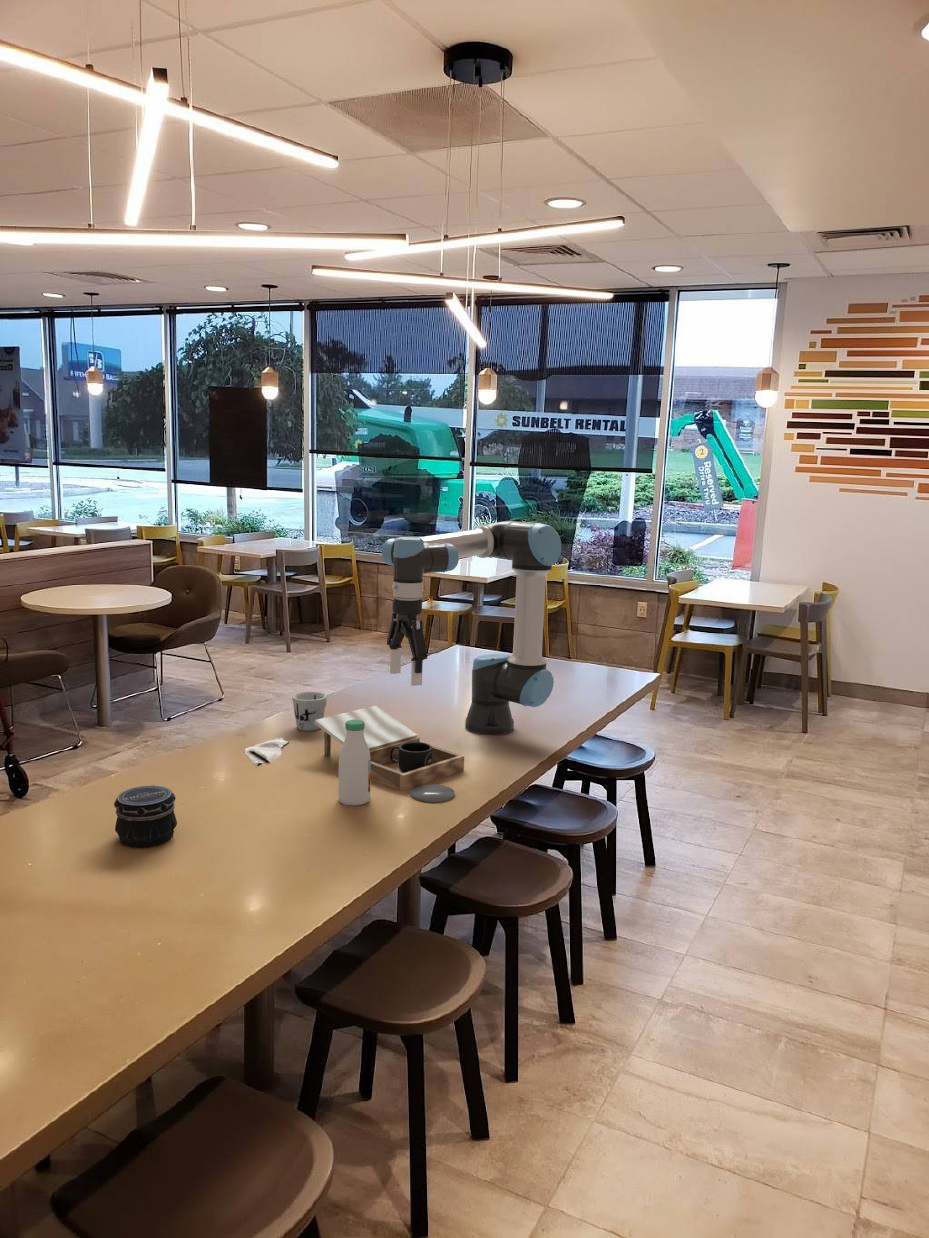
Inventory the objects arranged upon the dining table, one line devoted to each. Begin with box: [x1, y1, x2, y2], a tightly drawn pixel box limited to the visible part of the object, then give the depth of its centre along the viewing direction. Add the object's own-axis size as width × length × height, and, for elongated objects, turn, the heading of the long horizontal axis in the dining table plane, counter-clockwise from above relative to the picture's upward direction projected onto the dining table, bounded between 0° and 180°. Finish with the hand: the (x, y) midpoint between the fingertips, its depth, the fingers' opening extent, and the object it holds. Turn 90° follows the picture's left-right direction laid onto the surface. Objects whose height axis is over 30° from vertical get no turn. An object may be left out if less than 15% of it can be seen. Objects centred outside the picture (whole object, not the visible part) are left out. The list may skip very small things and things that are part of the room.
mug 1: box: [291, 691, 328, 732], centre depth 286 cm, size 10×15×10 cm
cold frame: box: [314, 705, 465, 792], centre depth 254 cm, size 22×36×10 cm, turn 47°
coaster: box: [410, 783, 456, 803], centre depth 233 cm, size 11×11×1 cm
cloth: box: [243, 737, 290, 768], centre depth 261 cm, size 26×14×2 cm, turn 164°
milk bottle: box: [337, 720, 372, 807], centre depth 225 cm, size 8×8×20 cm
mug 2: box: [390, 741, 433, 773], centre depth 248 cm, size 12×9×7 cm
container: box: [113, 784, 178, 849], centre depth 202 cm, size 13×13×10 cm
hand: (405, 679), depth 241 cm, fingers open, 13 cm apart
